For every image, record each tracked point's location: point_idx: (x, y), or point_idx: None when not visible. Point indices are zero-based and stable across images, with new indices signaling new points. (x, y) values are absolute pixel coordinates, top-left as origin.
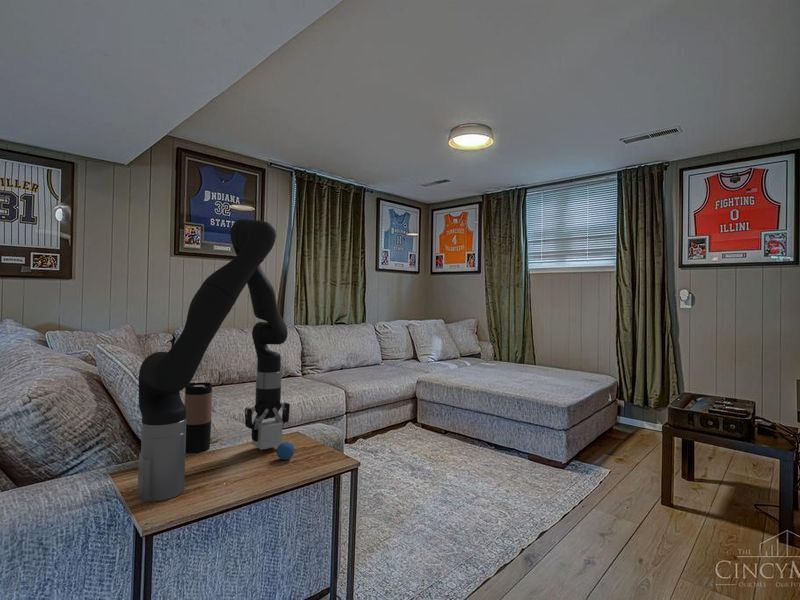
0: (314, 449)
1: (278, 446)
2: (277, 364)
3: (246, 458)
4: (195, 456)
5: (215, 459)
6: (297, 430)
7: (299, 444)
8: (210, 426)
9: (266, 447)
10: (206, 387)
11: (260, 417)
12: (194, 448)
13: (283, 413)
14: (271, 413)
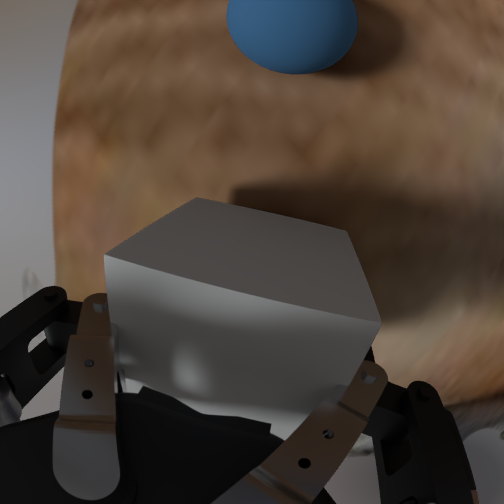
0: (93, 78)
1: (344, 26)
2: None
3: (425, 232)
4: (470, 389)
5: (480, 325)
6: None
7: (99, 196)
8: None
9: (307, 222)
10: None
11: (347, 454)
12: (454, 422)
13: (35, 372)
14: (149, 446)
